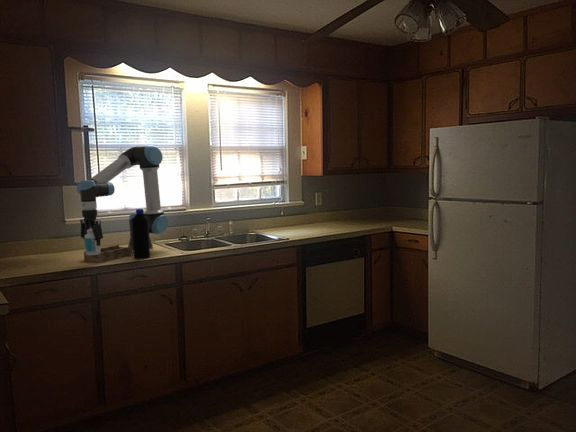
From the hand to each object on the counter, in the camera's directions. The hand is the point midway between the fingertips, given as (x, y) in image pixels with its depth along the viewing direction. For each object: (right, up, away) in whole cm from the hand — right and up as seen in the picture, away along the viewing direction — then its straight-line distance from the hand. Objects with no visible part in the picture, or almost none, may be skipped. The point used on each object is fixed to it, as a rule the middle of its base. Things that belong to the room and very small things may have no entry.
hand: (92, 251), depth 267 cm
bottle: (+21, -5, +18) cm, 28 cm away
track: (+2, -5, +20) cm, 21 cm away
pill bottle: (0, -2, 0) cm, 2 cm away
